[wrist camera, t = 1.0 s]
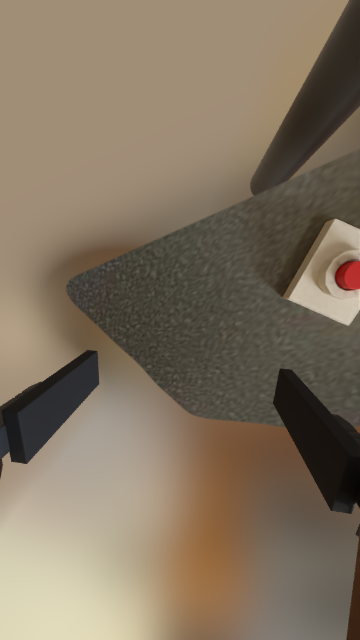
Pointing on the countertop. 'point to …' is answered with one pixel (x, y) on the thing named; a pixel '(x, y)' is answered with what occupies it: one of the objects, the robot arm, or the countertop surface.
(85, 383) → the robot arm
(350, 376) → the countertop surface
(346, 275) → the stop button
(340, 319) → the white button base
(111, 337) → the countertop surface
